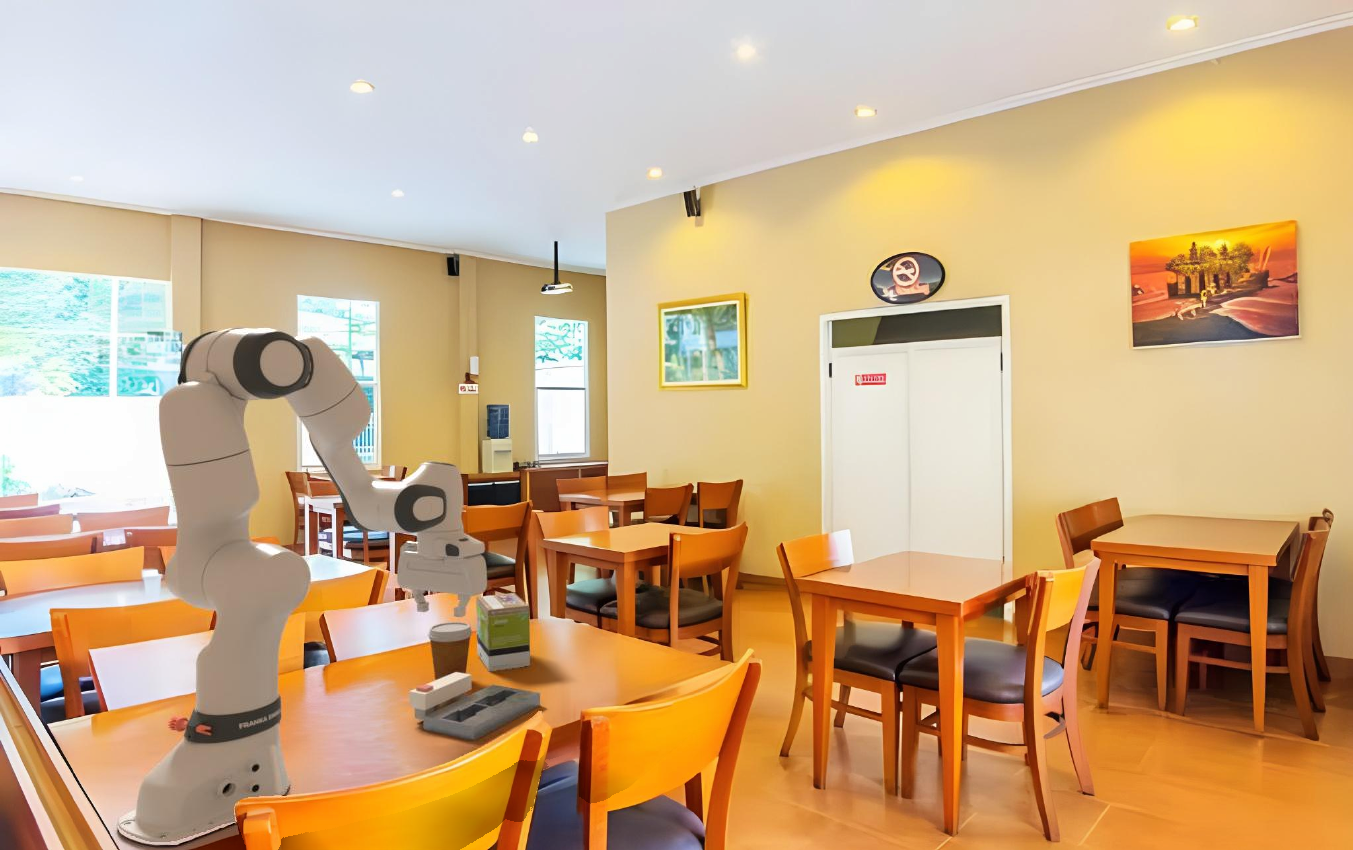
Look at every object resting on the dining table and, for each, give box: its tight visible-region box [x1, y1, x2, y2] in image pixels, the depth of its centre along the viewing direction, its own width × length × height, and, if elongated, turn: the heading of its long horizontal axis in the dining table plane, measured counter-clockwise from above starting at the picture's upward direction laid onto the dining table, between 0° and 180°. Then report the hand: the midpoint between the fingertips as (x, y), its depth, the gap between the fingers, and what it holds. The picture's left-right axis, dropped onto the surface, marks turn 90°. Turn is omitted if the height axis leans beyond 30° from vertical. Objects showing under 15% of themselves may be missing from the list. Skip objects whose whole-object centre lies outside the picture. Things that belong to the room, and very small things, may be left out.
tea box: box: [475, 592, 531, 672], centre depth 191 cm, size 15×10×15 cm, turn 25°
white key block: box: [408, 672, 472, 720], centre depth 156 cm, size 13×4×6 cm, turn 154°
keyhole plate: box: [422, 684, 541, 742], centre depth 154 cm, size 20×12×2 cm, turn 154°
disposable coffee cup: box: [427, 621, 473, 681], centre depth 176 cm, size 10×10×12 cm
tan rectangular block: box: [435, 695, 460, 711], centre depth 156 cm, size 6×4×3 cm
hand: (441, 614), depth 156 cm, fingers open, 8 cm apart
